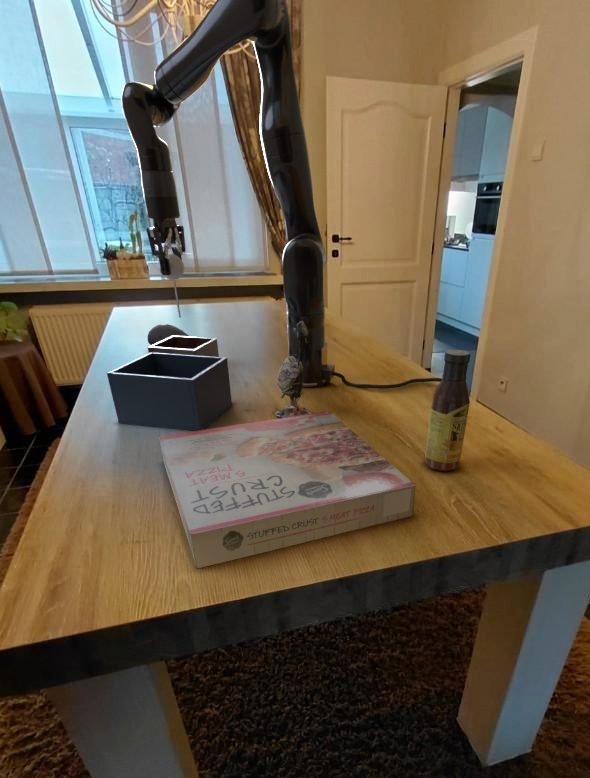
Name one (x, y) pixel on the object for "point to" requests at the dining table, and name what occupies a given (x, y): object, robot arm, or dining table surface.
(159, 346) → the basket
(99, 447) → the dining table surface
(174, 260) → the lollipop
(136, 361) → the bin
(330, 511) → the pizza box
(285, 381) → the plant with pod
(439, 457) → the sauce bottle
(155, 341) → the seashell
